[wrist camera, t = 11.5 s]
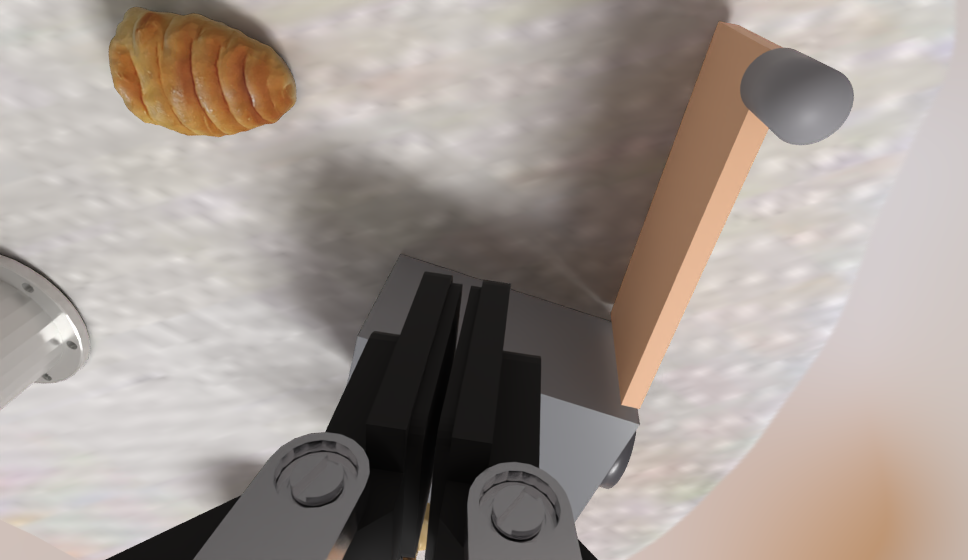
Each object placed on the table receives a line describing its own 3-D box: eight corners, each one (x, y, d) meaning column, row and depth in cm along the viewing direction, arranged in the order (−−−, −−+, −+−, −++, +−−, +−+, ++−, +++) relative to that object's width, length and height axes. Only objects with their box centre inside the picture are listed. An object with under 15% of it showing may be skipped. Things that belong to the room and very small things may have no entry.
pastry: (294, 17, 30) (261, 28, 27) (307, 138, 34) (280, 160, 30) (132, 3, 31) (81, 11, 27) (162, 123, 34) (120, 143, 31)
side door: (706, 13, 27) (790, 60, 17) (754, 23, 27) (869, 76, 17) (600, 311, 36) (612, 453, 26) (635, 318, 36) (662, 464, 26)
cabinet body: (370, 379, 43) (323, 483, 35) (400, 254, 37) (352, 345, 28) (580, 444, 44) (584, 561, 36) (647, 333, 38) (669, 444, 29)
